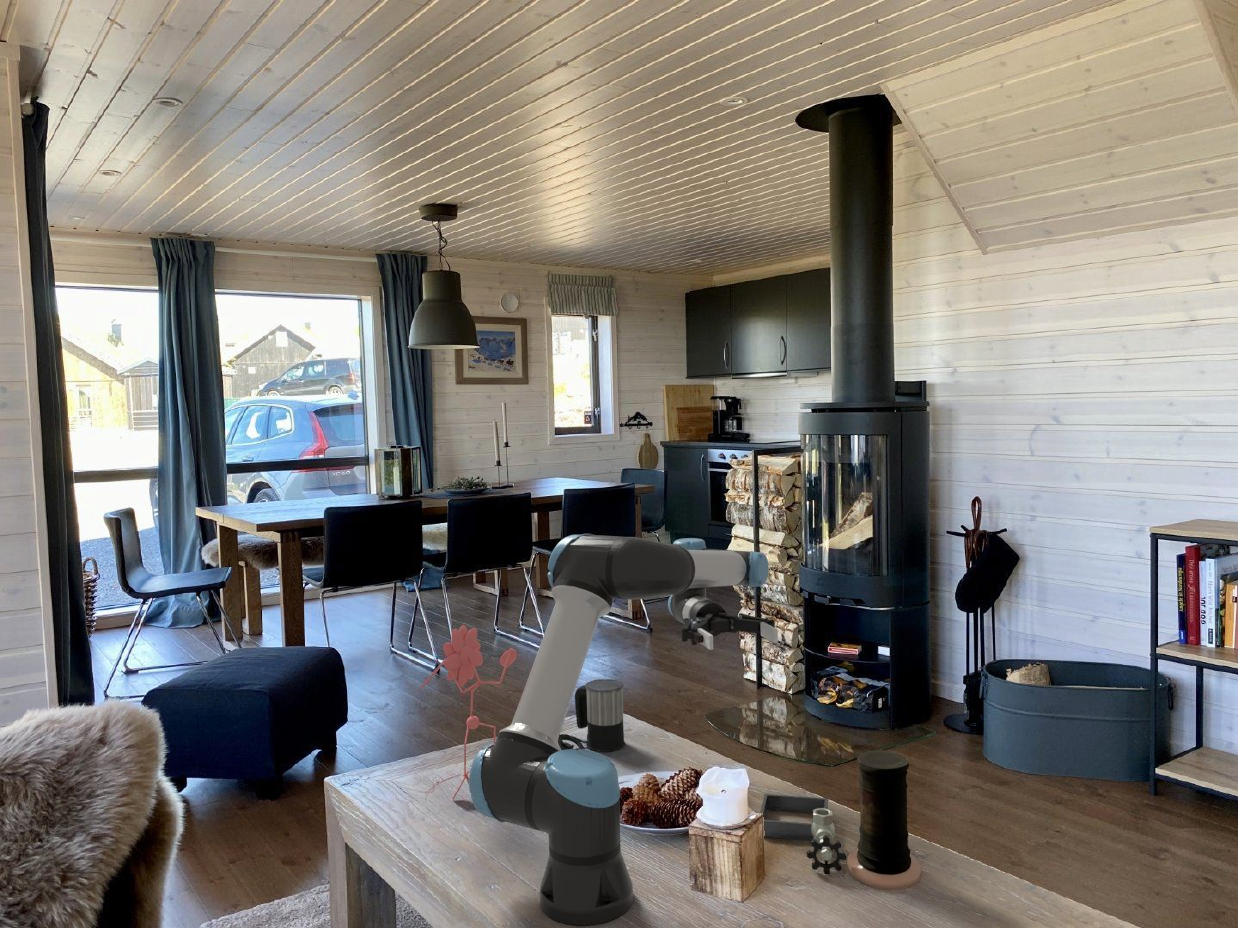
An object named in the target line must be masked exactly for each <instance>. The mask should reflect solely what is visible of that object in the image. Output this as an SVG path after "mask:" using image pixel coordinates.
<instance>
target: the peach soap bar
mask: <svg viewBox="0 0 1238 928" xmlns="http://www.w3.org/2000/svg"><path fill="white" fill-rule="evenodd" d="M857 852H858V848H856V849H855V850H852V851H851V852H850V853H849V854H848V856H847V858H846V860H847V861H846V863H847V872H848V874H849V875H850V876H851V877H852V878H853V879H854V880H855V879H856V881H857V882H859V883H861V884H863V885H865V886H868V887H871V888H876V889H883V890H903V889H906V888H910V887H913V886H915V885H916V884H918V882H920V880H921V878H922V872H921V871H922V865H921V863H920V861H919V860H918V859H917V857H915V856H914V855H913V854H911V853H910V857H911V866H910V868H909V869H908V870H907V871H906V872H903V873H900V874H894V875H885V874H878V873H875V872H871V871H869V870H867V869H865V868H864V867H862V866H861V865H860V864H859V862H858V859H857ZM912 885H913V886H912Z"/></svg>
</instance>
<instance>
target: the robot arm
mask: <svg viewBox="0 0 1238 928" xmlns="http://www.w3.org/2000/svg"><path fill="white" fill-rule="evenodd" d="M547 569H548V570H549V571H548V573H547V578H548V583H549V585H550V587H551V591H550V592H551V596H552V597H553V600H554V602H555V604H554V607H553V608H552V609H553V610H552V612H551V615H550V618H549V619H548V623H547V626H546V629H545V631H544V634H543V637H542V638H541V642H540V645H539V647H538V650H537V654H536V657H535V658H534V661H533V665H532V666H531V669H530V673H529V675H528V678H527V680H526V683H525V686H524V688H523V691H522V693H521V697H520V699H519V702H518V705H517V708H516V709H515V713H514V716H513V718H512V721H511V724H509V725H507V727H504V728H503V729H502V728H501V729H500V730H499V732H498V735H497V736H496V738H495V744H494V743H491V744H487V745H485V746H483V747H482V748H481V749H480V750H478V751H477V753H476V755H475V756H474V758H473V760H472V762H471V766H470V769H469V773H468V777H469V784H468V790H469V793H470V799H471V802H472V804H473V806H474V808H475V809H476V810H477V811H478V812H479V813H480V814H481V815H483V816H485V817H487V818H491V819H493V820H494V821H495V820H496V821H498V822H499V823H509V824H513V825H517V826H520V827H524V828H529V829H532V830H536V831H539V832H543V833H546V834H548V850H549V851H548V854H549V855H548V860H547V862H546V866H545V869H544V873H543V877H542V879H541V883H540V887H539V905H540V908H541V910H542V912H543V913H544V914H545V915H546V916H548V917H549V918H551V919H553V920H554V921H557V922H559V923H562V924H563V923H564V924H567V925H574V926H575V925H576V926H588V925H589V926H590V925H598V924H602V923H605V922H607V923H608V922H609V921H614V919H617V918H619V917H621V916H622V915H624V914H625V913H626V912H627V911H628V910H630V908H631V906H632V905H633V902H634V888H633V887H634V886H633V882H632V878H631V876H630V873H629V870H628V868H627V865H626V861H625V859H624V856H623V855H622V845H621V810H620V809H621V808H620V807H621V804H620V801H621V800H620V798H621V797H620V796H621V787H620V783H619V773H618V770H617V768H616V765H615V764H614V762H613V761H612V760H611V759H610V758H609V757H607V756H606V755H603V754H601V753H600V752H598V751H594V750H591V749H590V750H589V749H585V748H584V749H579V748H578V749H579V750H578V749H576V750H575V749H574V748H573V749H574V750H573V749H567V750H561V748H560V746H559V744H558V738H559V735H560V734H561V731H562V729H563V726H564V724H565V719H566V717H567V714H568V711H569V708H570V705H571V702H572V699H573V697H574V695H575V692H576V687H577V684H578V682H579V679H580V675H581V673H582V670H583V667H584V664H585V660H586V657H587V656H588V655H587V654H588V652H589V649H590V646H591V643H592V641H593V638H594V634H595V631H596V628H597V625H598V622H599V619H600V618H602V617H604V616H606V615H608V614H609V613H610V612H611V609H612V606H613V604H614V601H615V599H618V600H630V601H633V600H634V601H636V600H645V599H646V600H647V599H653V598H658V597H666V596H669V598H668V601H667V608H668V611H669V613H670V614H671V616H672V617H673V618H675V620H677V621H678V622H680V623H681V624H682V627H681V642H684V643H686V642H688V641H689V640H690V641H691V642H690V645H692V646H697V645H698V644H700V645H702V646H703V647H704V648H705V649H708V650H714V638H716V637H717V636H719V635H720V634H722V633H732V634H736V633H738V632H743V633H751V634H760V636H761V637H762V638H765V639H767V640H768V641H770V642H772V643H773V644H777V643H779V638H778V637H779V636H778V632H779V631H778V630H779V629H778V628H776V625H775V624H776V621H775V619H774V620H773V619H770V618H768V617H758V616H753V615H749V614H745V613H743V612H741V613H740V612H739V613H738V615H735V614H728V613H727V611H726V610H725V608H724V607H723V606H722V605H720V604H719V603H717V602H714V601H713V600H711V599H709V598H707V588H713V587H728V586H731V587H735V586H743V587H749V588H751V587H762V586H764V584H765V583H766V582H767V580H768V577H769V570H770V569H769V560H768V558H767V556H766V555H765V554H764V552H759V551H758V552H757V551H753V550H750V551H748V550H734V549H733V550H732V549H730V550H727V549H718V548H717V549H715V548H707V546H706V542H705V540H704V539H702V538H697V537H695V538H694V537H693V538H692V537H690V538H689V537H688V538H679V539H676V540H674V541H673V543H666V542H660V541H656V540H651V539H647V538H642V537H637V536H636V537H635V536H616V535H615V536H613V535H600V534H599V535H596V534H592V533H582V534H571V535H568V536H566V537H563V539H561V540H560V541H559V542H557V544H556V546H555V547H554V548H553V550H552V552H551V554H550V557H549V559H548V564H547Z"/></svg>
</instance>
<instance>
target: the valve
mask: <svg viewBox="0 0 1238 928" xmlns="http://www.w3.org/2000/svg"><path fill="white" fill-rule="evenodd" d="M812 818H813V821H812V826H811V832H812V835H813V837H814V839H812V841H810V844H811V847H812V848H813V850H812V851H811V849H808V850H806V857H807V859H813V860H814V861H812V862H811V868H812V870H814V871H816V870H818V869H819V868H822V870H823V874H824V875H825V874H829V875H830V874H831V869H833V868H834V869H835V870H836V871H837V872H840V871H842V869H843V866H842V863H840V861H845V860H847V858H848V856H847V853H846V851H844V850H843V851H842V852H840V850H839V849H841V848H842V841H841V840H839V839H836V840H835V842H834V837H835V835H836V828H835V825H834V822H833V821H834V820H833V819H834V818H833V810H831V809H829V808H828V809H825V808H818V809H815V810H813V815H812ZM833 851H834V852H835V854H836V855H835V856H836V857H835V859H834V860H833V861H832V862H830V863H829V860H831V859H832V856H833ZM818 852H819V854H820V856H821V859H822V860H824V863H823V862H822V861H821V860H819V858H818V856H817V855H818V854H817V853H818Z"/></svg>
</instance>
